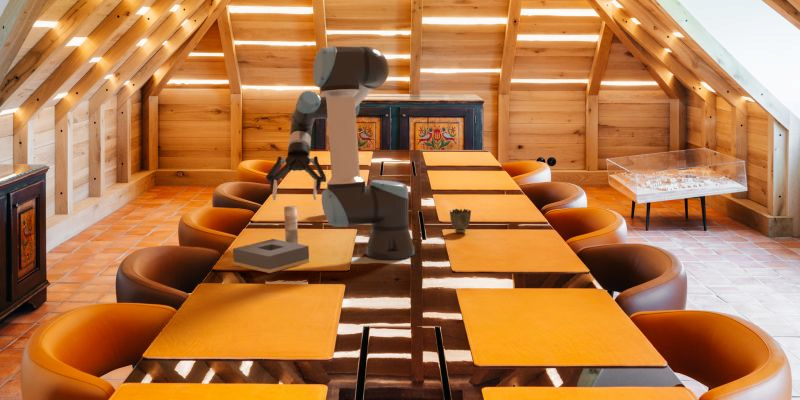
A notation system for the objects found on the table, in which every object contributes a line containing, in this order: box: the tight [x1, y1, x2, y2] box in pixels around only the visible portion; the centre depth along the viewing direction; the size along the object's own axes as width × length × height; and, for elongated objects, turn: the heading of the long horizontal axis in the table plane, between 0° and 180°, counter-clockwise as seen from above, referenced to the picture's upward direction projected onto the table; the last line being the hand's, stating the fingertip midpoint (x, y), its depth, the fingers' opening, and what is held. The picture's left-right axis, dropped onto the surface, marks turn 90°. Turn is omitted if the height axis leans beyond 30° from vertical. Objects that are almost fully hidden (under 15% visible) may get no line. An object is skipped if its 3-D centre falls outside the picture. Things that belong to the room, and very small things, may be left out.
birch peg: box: [283, 205, 299, 244], centre depth 266 cm, size 4×4×14 cm
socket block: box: [232, 238, 310, 274], centre depth 250 cm, size 16×16×5 cm
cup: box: [449, 208, 472, 235], centre depth 287 cm, size 8×7×8 cm
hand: (294, 197), depth 274 cm, fingers open, 13 cm apart
